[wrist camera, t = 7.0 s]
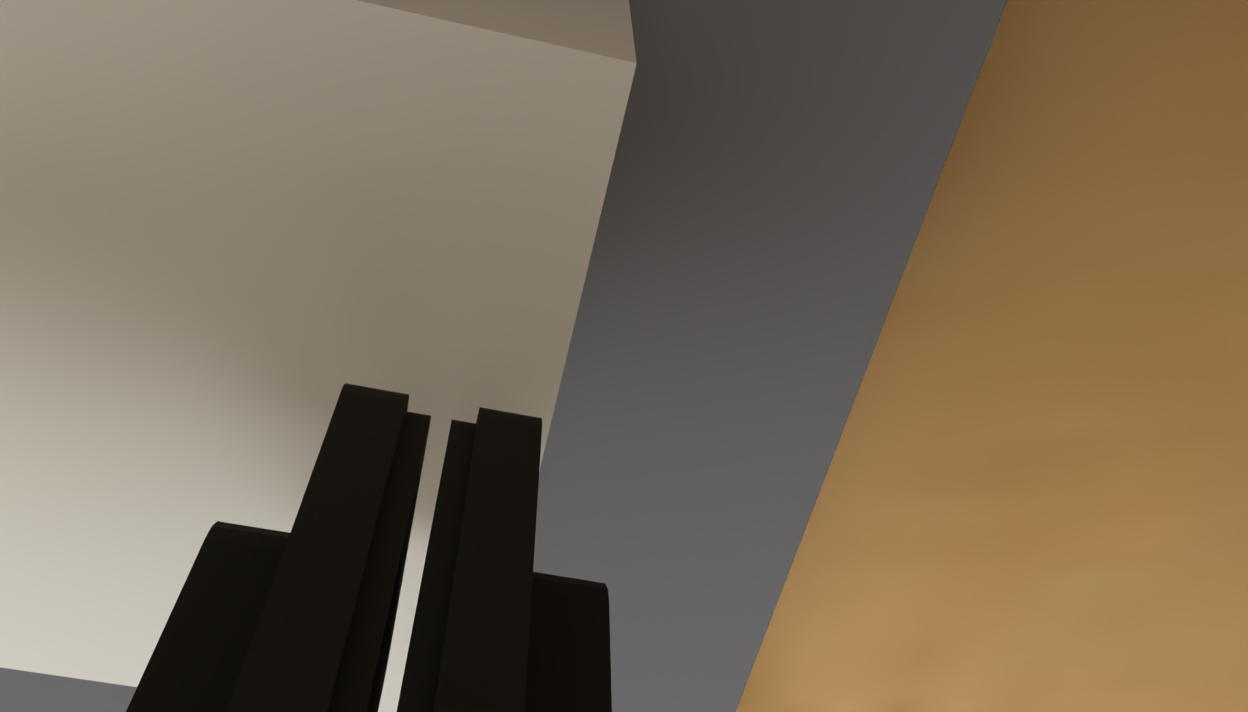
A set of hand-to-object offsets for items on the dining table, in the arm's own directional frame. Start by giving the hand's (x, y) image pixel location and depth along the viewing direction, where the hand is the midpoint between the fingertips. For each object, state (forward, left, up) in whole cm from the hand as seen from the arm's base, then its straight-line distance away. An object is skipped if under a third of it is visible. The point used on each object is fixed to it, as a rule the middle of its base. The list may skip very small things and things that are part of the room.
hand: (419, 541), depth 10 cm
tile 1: (0, +1, -3) cm, 3 cm away
